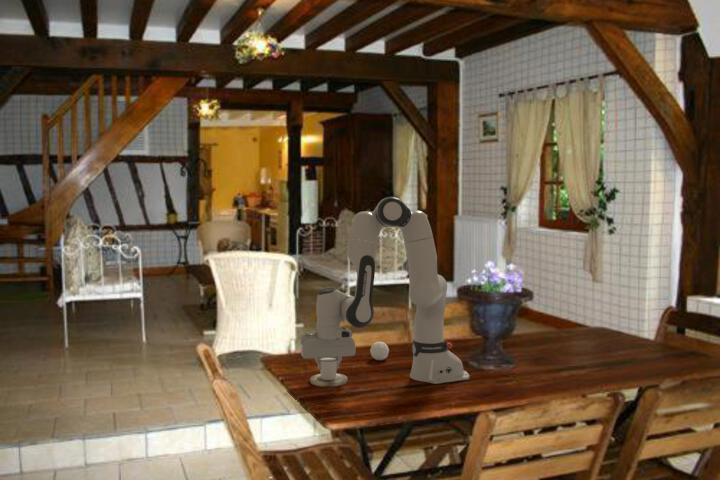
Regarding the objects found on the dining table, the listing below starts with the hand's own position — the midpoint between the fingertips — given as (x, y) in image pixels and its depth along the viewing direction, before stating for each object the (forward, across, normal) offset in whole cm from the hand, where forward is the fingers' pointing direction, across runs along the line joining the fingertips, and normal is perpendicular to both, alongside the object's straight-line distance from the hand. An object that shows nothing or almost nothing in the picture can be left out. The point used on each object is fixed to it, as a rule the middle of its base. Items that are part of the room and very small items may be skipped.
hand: (328, 368), depth 268 cm
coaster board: (+5, 0, 0) cm, 5 cm away
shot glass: (+4, 0, 0) cm, 4 cm away
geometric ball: (+5, +26, +26) cm, 37 cm away
